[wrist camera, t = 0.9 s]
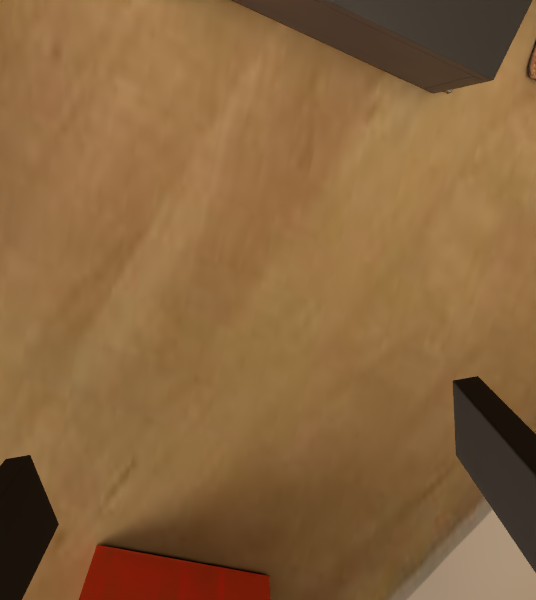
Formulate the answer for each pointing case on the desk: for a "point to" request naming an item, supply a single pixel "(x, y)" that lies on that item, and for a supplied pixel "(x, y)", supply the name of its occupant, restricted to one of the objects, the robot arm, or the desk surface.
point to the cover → (410, 34)
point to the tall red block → (166, 579)
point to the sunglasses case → (533, 64)
